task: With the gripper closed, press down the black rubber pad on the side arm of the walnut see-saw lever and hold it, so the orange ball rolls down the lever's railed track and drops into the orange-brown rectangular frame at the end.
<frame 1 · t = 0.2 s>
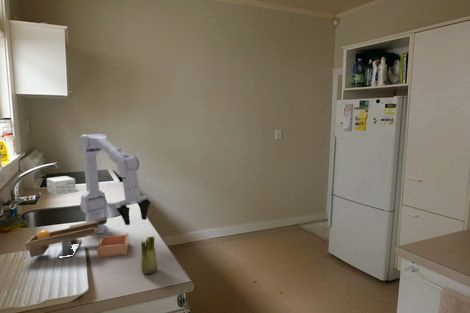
hand: (136, 222, 125), 11 cm above the worktop, tool pointing down, fingers open, 7 cm apart
lever stand: (67, 254, 120), on the worktop
supplement box: (61, 192, 217), on the worktop
ball: (43, 235, 117), point 8 cm above the worktop, tilted 113°
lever: (70, 234, 123), point 6 cm above the worktop, hinge at 8.7°
orange-brown rectangular frame: (113, 250, 124), on the worktop
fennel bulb: (149, 272, 107), on the worktop
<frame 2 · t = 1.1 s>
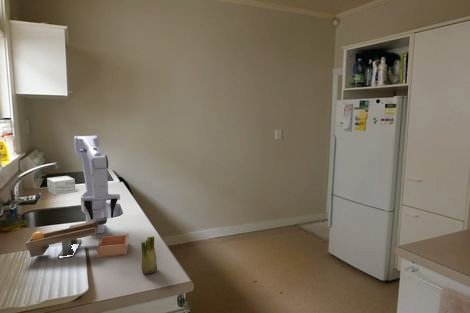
hand: (102, 217, 130), 10 cm above the worktop, tool pointing down, fingers open, 7 cm apart
ball: (37, 236, 116), point 8 cm above the worktop, tilted 58°, touching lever
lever: (70, 234, 123), point 6 cm above the worktop, hinge at 8.6°, touching ball
everything else where it was.
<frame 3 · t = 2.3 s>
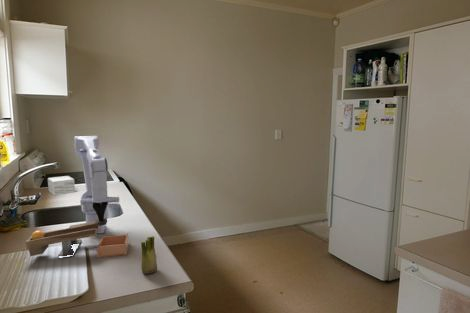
hand: (101, 220, 131), 9 cm above the worktop, tool pointing down, fingers closed, pressing on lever
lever: (70, 234, 123), point 6 cm above the worktop, hinge at 6.5°, touching ball, gripper
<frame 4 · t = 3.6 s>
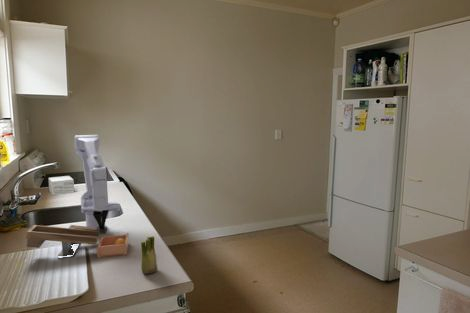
hand: (102, 228, 131), 6 cm above the worktop, tool pointing down, fingers closed
ball: (120, 243, 124), point 2 cm above the worktop, tilted 178°, touching orange-brown rectangular frame
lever: (70, 234, 123), point 6 cm above the worktop, hinge at -11.4°, touching gripper
everything else where it was.
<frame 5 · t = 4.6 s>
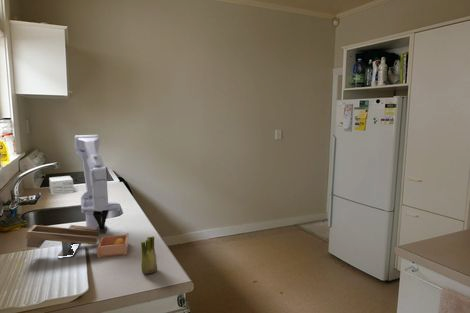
hand: (102, 228, 131), 6 cm above the worktop, tool pointing down, fingers closed
ball: (119, 243, 124), point 2 cm above the worktop, tilted 170°, touching orange-brown rectangular frame
everything else where it was.
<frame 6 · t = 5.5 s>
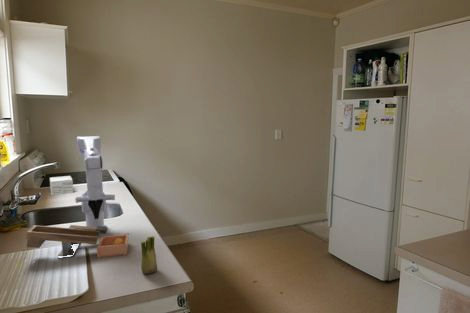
hand: (96, 218, 130), 10 cm above the worktop, tool pointing down, fingers closed
ball: (118, 243, 124), point 2 cm above the worktop, tilted 163°, touching orange-brown rectangular frame
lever: (70, 234, 123), point 6 cm above the worktop, hinge at -11.0°
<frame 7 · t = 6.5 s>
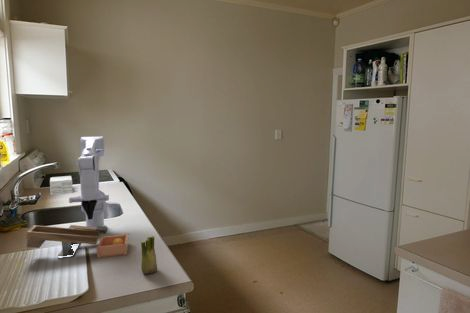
hand: (90, 218, 129), 10 cm above the worktop, tool pointing down, fingers closed
ball: (118, 243, 124), point 2 cm above the worktop, tilted 155°, touching orange-brown rectangular frame
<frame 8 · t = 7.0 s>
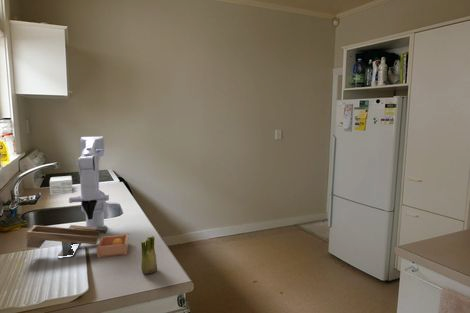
hand: (90, 218, 129), 10 cm above the worktop, tool pointing down, fingers closed
at the end: ball inside the target area on the orange-brown rectangular frame (1.5 cm from its centre), point 2.5 cm above the orange-brown rectangular frame's base; ball point 2.5 cm above the worktop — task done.
